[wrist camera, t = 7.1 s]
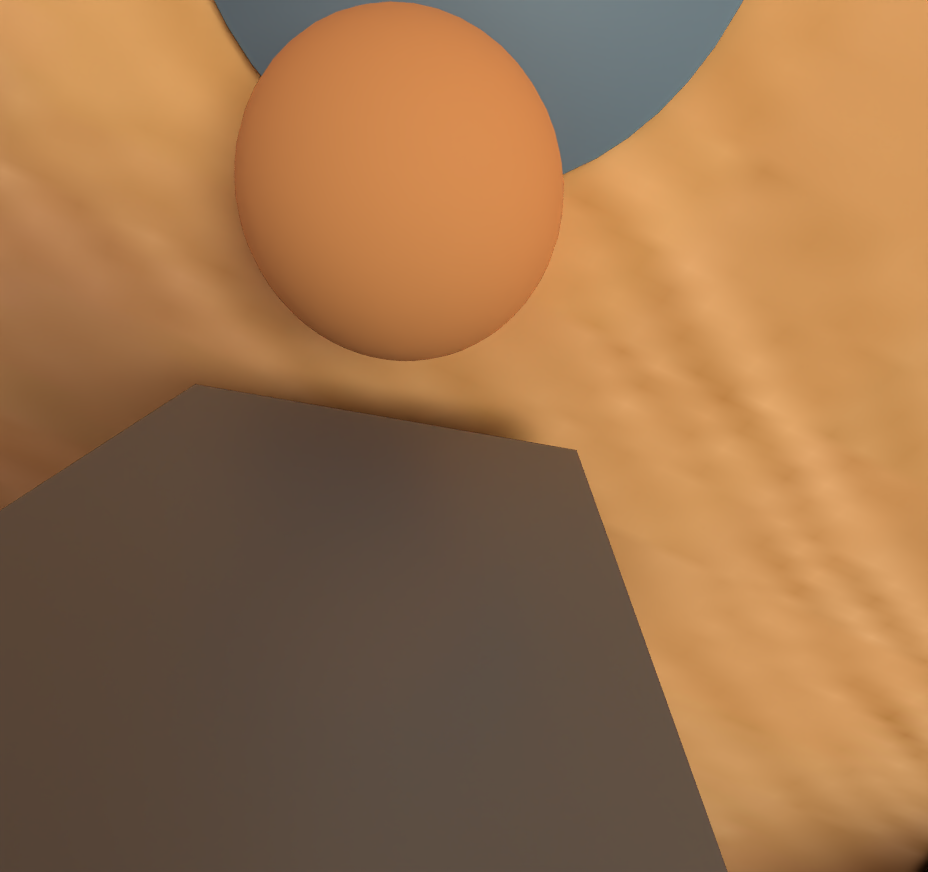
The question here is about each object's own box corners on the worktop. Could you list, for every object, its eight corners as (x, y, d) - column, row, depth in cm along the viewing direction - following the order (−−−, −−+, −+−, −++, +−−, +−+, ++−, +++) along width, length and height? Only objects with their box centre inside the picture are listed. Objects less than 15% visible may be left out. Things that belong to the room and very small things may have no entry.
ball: (623, 129, 5) (595, -18, 8) (96, 52, 5) (267, -66, 8) (526, 441, 9) (531, 264, 12) (231, 400, 9) (311, 234, 12)
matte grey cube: (501, 711, 14) (522, 1405, 6) (206, 665, 14) (-190, 1328, 6) (576, 450, 11) (832, 1170, 3) (195, 384, 11) (-723, 975, 3)
